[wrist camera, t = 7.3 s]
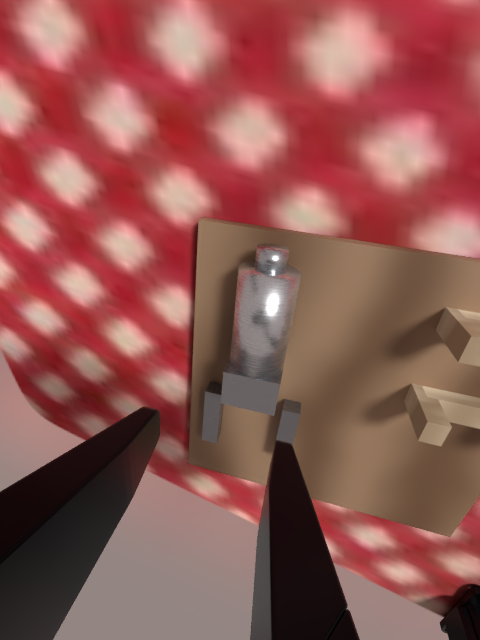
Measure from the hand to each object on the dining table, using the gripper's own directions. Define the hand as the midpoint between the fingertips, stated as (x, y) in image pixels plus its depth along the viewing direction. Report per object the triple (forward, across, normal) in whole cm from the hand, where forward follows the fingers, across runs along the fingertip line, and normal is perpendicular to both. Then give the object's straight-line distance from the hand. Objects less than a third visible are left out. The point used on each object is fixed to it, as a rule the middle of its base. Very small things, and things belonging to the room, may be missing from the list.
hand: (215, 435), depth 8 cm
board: (+10, -5, +5) cm, 12 cm away
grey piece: (+9, 0, +1) cm, 9 cm away
